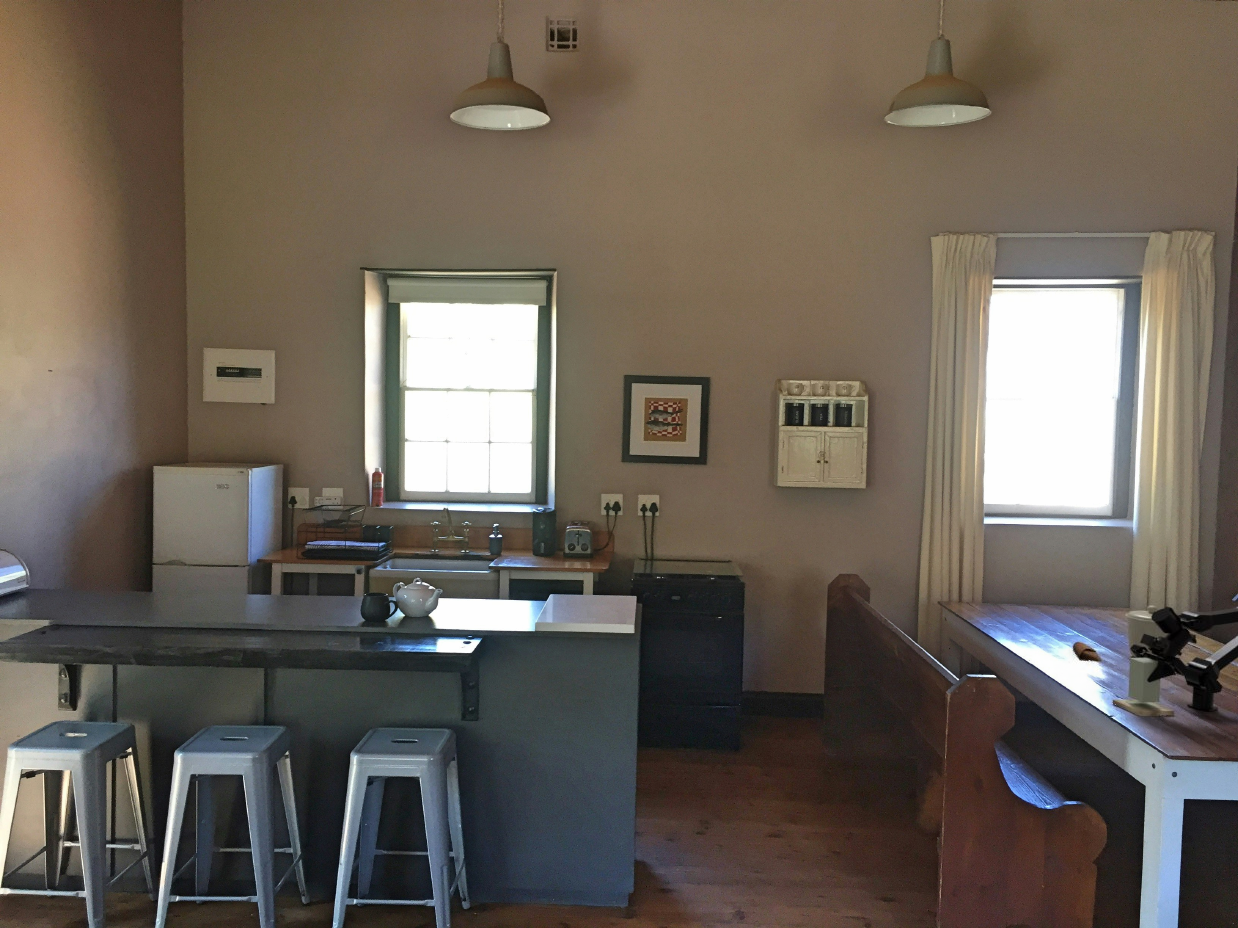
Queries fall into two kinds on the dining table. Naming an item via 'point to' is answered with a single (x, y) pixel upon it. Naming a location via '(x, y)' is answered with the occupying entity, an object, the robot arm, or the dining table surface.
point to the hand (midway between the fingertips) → (1140, 678)
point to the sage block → (1143, 680)
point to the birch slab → (1143, 707)
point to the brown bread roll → (1086, 652)
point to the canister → (1142, 627)
